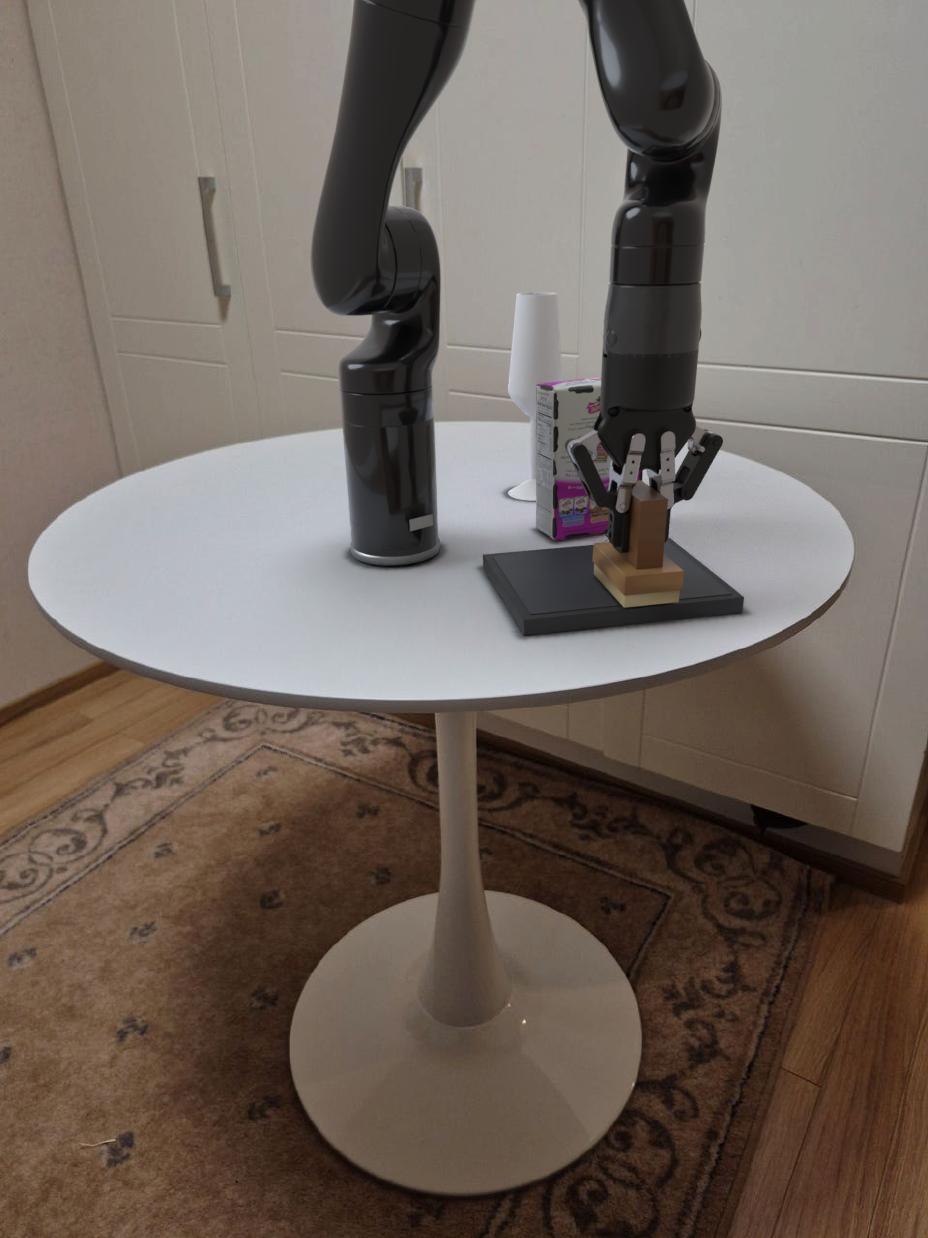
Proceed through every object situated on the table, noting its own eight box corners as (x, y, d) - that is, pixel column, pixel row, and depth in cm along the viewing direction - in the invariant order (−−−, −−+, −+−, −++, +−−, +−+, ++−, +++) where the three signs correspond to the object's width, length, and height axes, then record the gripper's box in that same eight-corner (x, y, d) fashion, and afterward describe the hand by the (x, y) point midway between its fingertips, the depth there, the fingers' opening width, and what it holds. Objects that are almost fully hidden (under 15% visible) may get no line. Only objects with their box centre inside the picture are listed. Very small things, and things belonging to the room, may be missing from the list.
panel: (482, 568, 87) (482, 553, 86) (668, 551, 90) (670, 536, 89) (523, 635, 72) (523, 619, 72) (742, 612, 76) (744, 596, 75)
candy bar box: (617, 515, 101) (626, 372, 94) (641, 528, 97) (651, 379, 90) (532, 529, 97) (534, 380, 90) (552, 542, 93) (556, 388, 86)
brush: (591, 573, 80) (595, 479, 77) (644, 568, 81) (651, 475, 77) (623, 609, 73) (629, 506, 69) (681, 603, 74) (690, 502, 70)
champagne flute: (504, 486, 113) (504, 292, 103) (554, 484, 113) (559, 290, 103) (512, 501, 107) (512, 296, 97) (565, 499, 107) (571, 294, 97)
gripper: (711, 334, 73) (692, 528, 80) (552, 341, 70) (548, 541, 78) (754, 345, 66) (730, 556, 73) (581, 354, 64) (573, 571, 71)
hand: (636, 547), depth 75 cm, fingers closed on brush, 2 cm apart
